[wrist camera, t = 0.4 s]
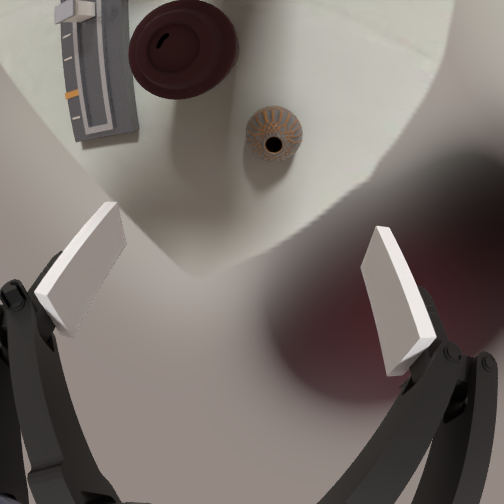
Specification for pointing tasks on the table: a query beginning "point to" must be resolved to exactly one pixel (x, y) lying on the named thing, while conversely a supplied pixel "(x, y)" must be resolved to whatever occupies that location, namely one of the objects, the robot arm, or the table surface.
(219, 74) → the coffee cup
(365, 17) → the table surface
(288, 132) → the vase
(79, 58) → the console
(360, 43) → the table surface
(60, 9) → the fader knob
